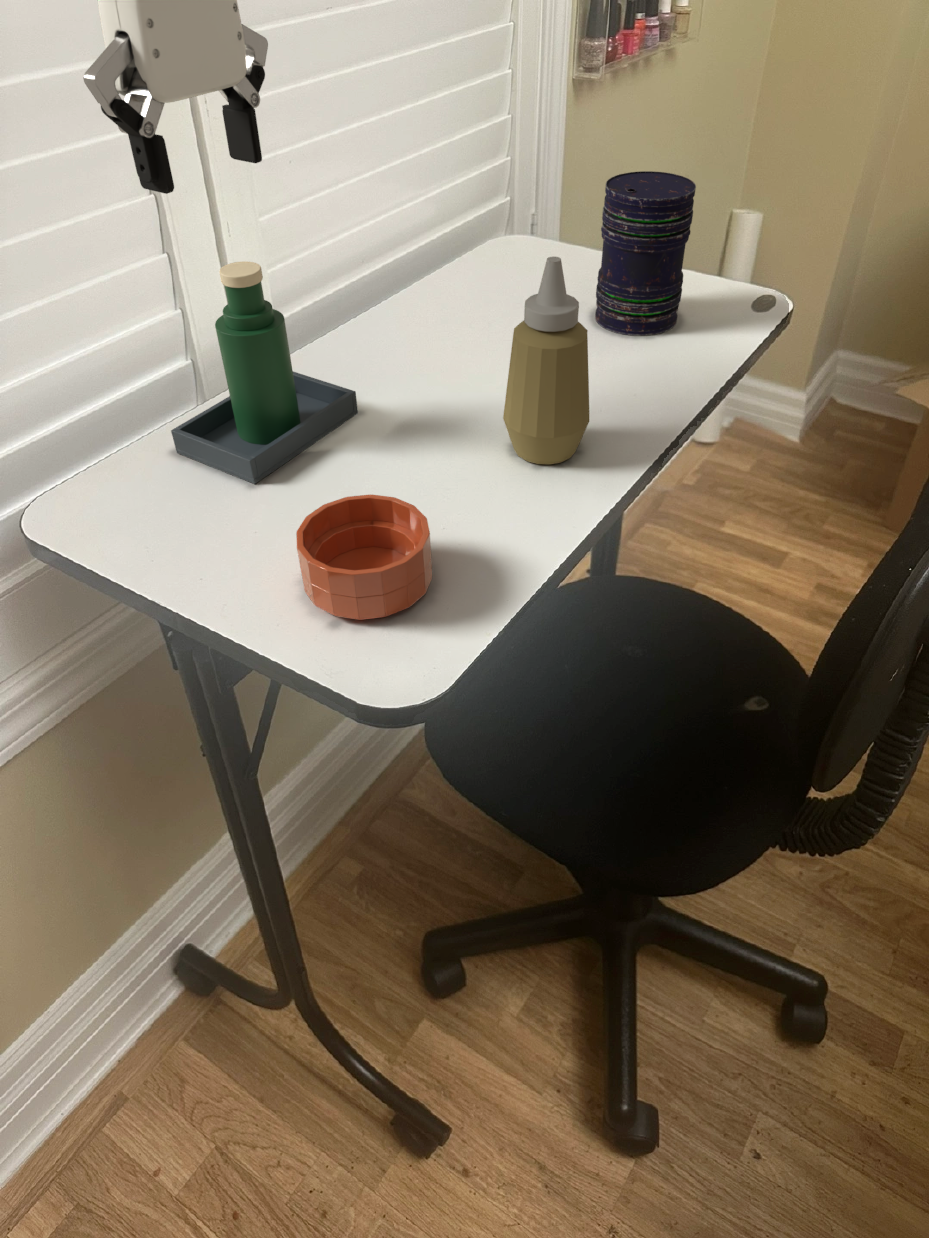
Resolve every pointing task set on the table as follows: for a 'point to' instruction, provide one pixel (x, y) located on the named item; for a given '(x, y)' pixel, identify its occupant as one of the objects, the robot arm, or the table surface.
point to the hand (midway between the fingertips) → (204, 174)
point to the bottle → (255, 357)
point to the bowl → (365, 556)
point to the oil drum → (643, 251)
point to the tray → (224, 450)
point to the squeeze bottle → (548, 374)
